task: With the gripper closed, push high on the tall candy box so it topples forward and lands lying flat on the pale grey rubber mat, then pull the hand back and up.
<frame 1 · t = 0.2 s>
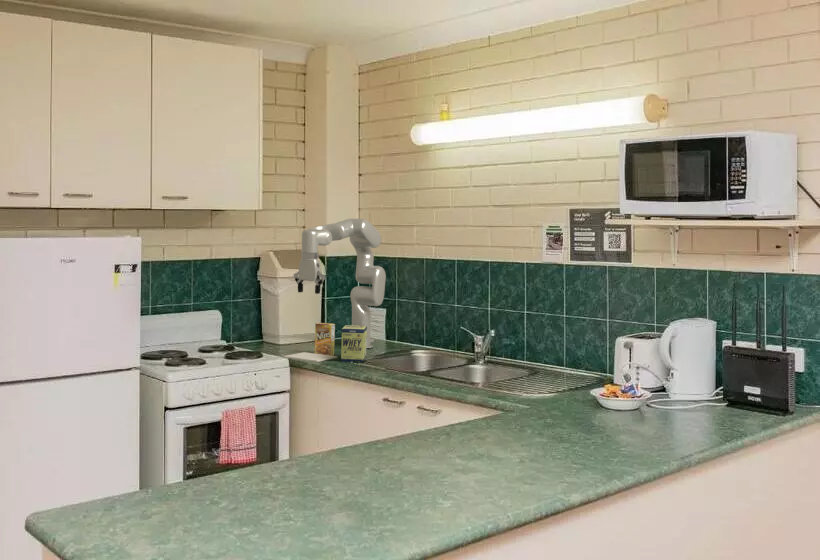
hand: (308, 292, 424), 31 cm above the worktop, fingers open, 9 cm apart
candy box: (324, 355, 438), on the worktop
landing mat: (310, 357, 428), on the worktop
protein box: (353, 360, 425), on the worktop
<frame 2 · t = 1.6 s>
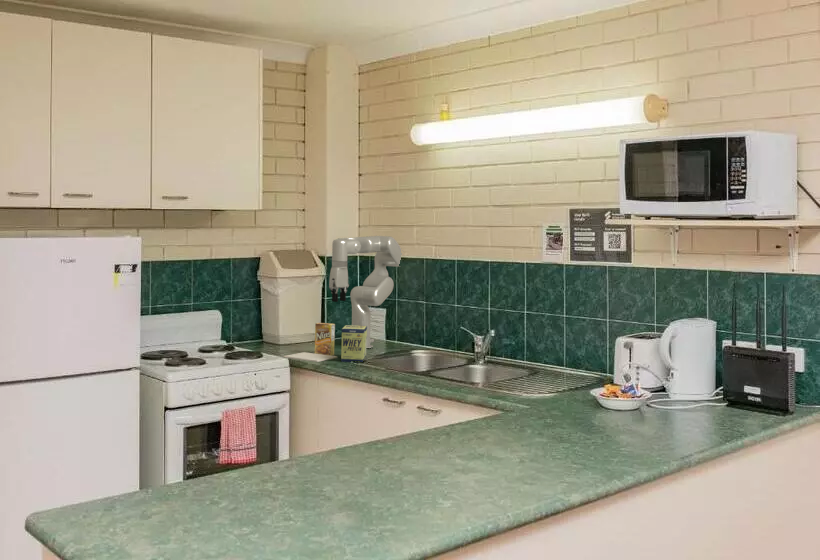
hand: (338, 300, 445), 26 cm above the worktop, fingers open, 5 cm apart
nothing on the worktop moved.
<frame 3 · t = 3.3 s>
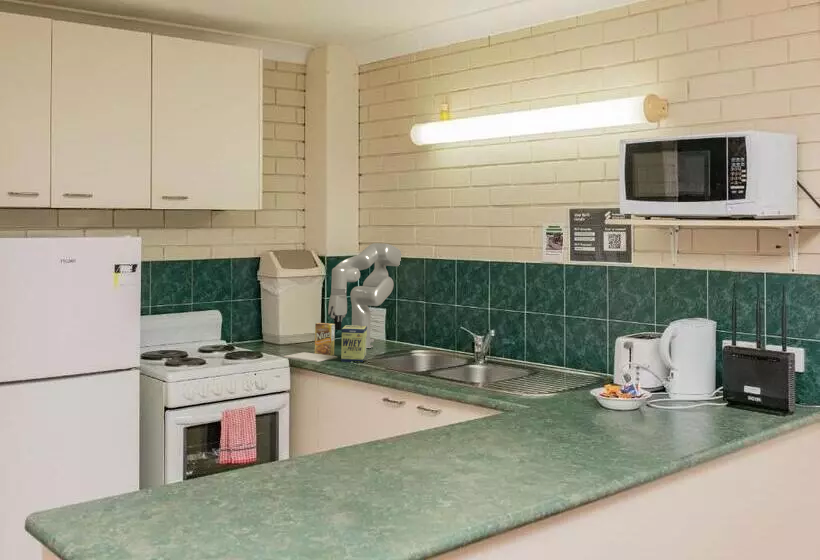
hand: (337, 329, 446), 11 cm above the worktop, fingers closed
nothing on the worktop moved.
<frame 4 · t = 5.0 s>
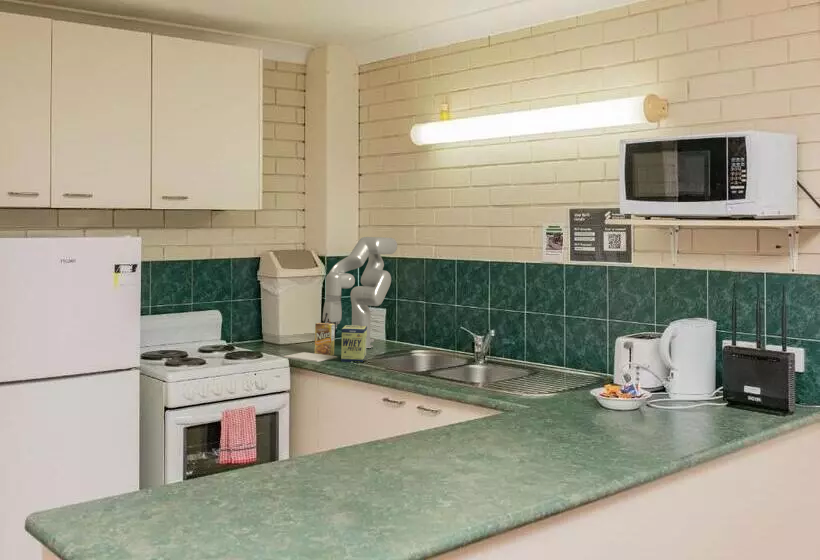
hand: (332, 336, 442), 8 cm above the worktop, fingers closed
nothing on the worktop moved.
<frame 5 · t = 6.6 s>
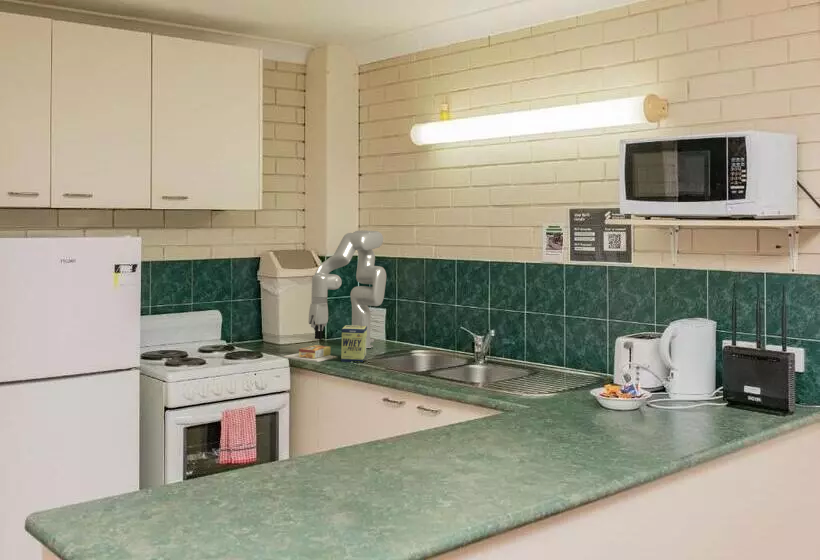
hand: (318, 338, 433), 8 cm above the worktop, fingers closed
candy box: (323, 349, 436), point 3 cm above the worktop, touching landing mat
everything else where it was.
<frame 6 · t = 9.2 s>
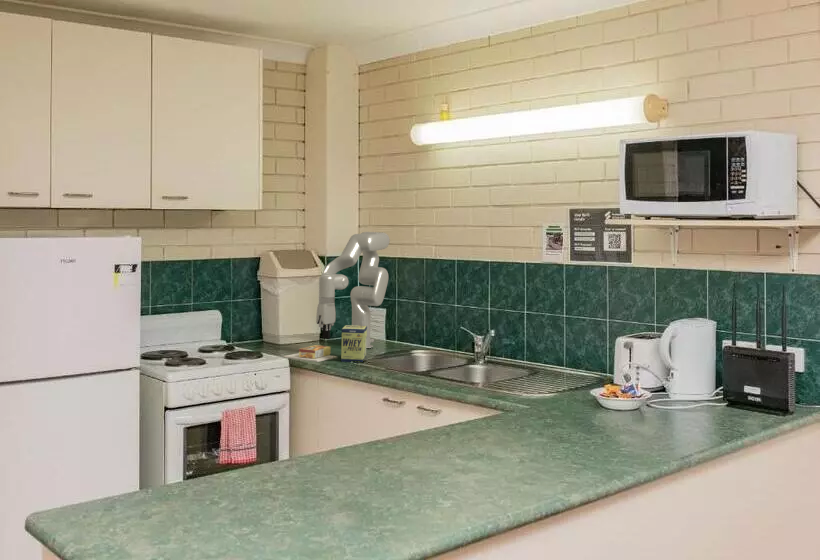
hand: (326, 338, 438), 8 cm above the worktop, fingers closed
nothing on the worktop moved.
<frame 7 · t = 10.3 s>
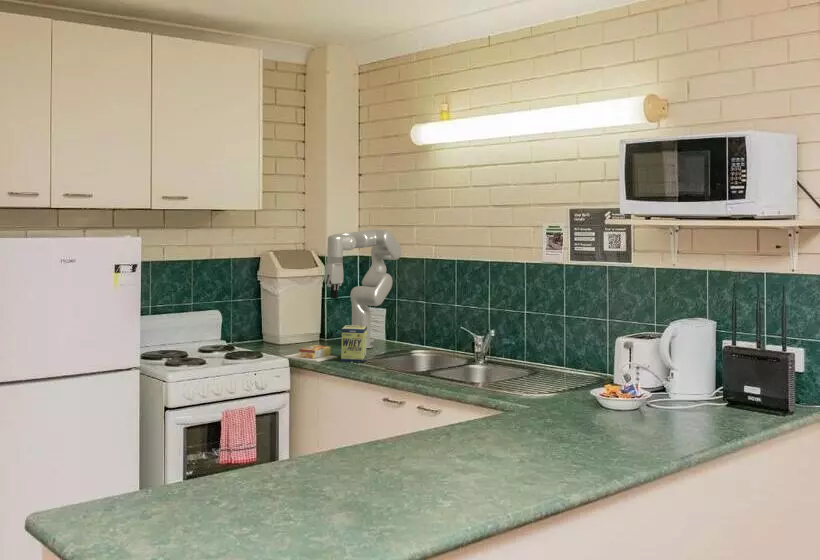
hand: (334, 298, 442), 27 cm above the worktop, fingers closed
nothing on the worktop moved.
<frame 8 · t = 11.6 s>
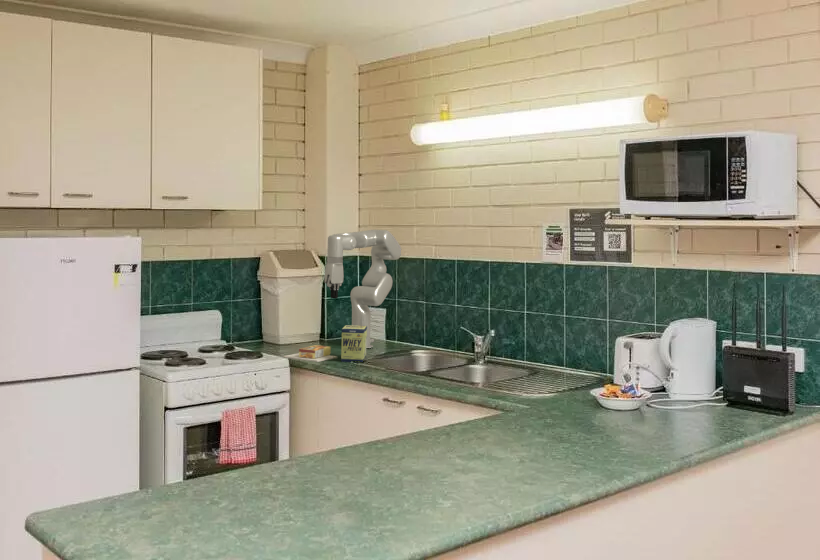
hand: (334, 298, 442), 27 cm above the worktop, fingers closed
nothing on the worktop moved.
at the end: candy box tilted 90°; candy box touching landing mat; candy box inside the target area (4.9 cm from its centre), point 2.8 cm above the worktop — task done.
